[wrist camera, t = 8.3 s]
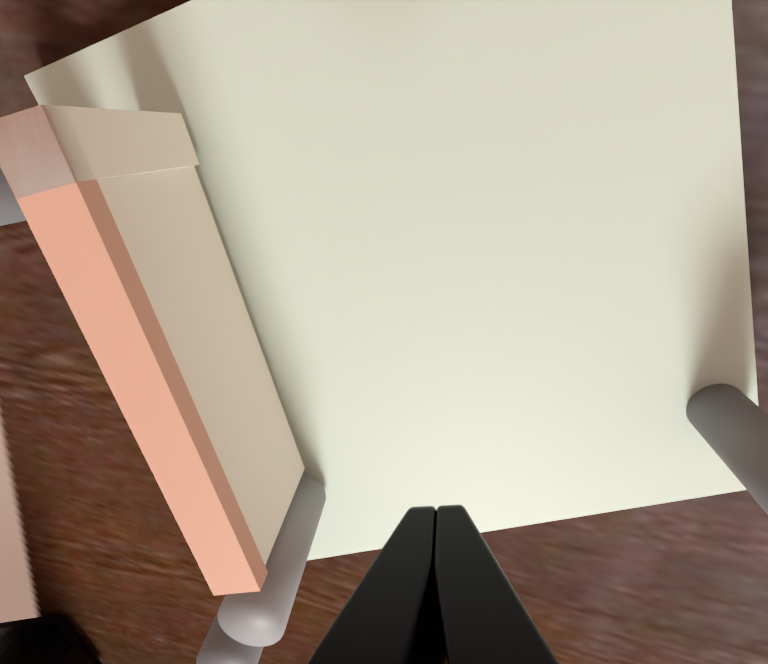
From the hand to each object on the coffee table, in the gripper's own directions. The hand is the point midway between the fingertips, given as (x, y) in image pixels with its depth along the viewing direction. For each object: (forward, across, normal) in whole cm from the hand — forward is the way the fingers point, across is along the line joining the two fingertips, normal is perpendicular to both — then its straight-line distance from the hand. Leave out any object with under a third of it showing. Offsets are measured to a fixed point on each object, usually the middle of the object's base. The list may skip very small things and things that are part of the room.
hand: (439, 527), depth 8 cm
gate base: (+12, +1, 0) cm, 12 cm away
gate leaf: (+10, +8, +1) cm, 13 cm away
